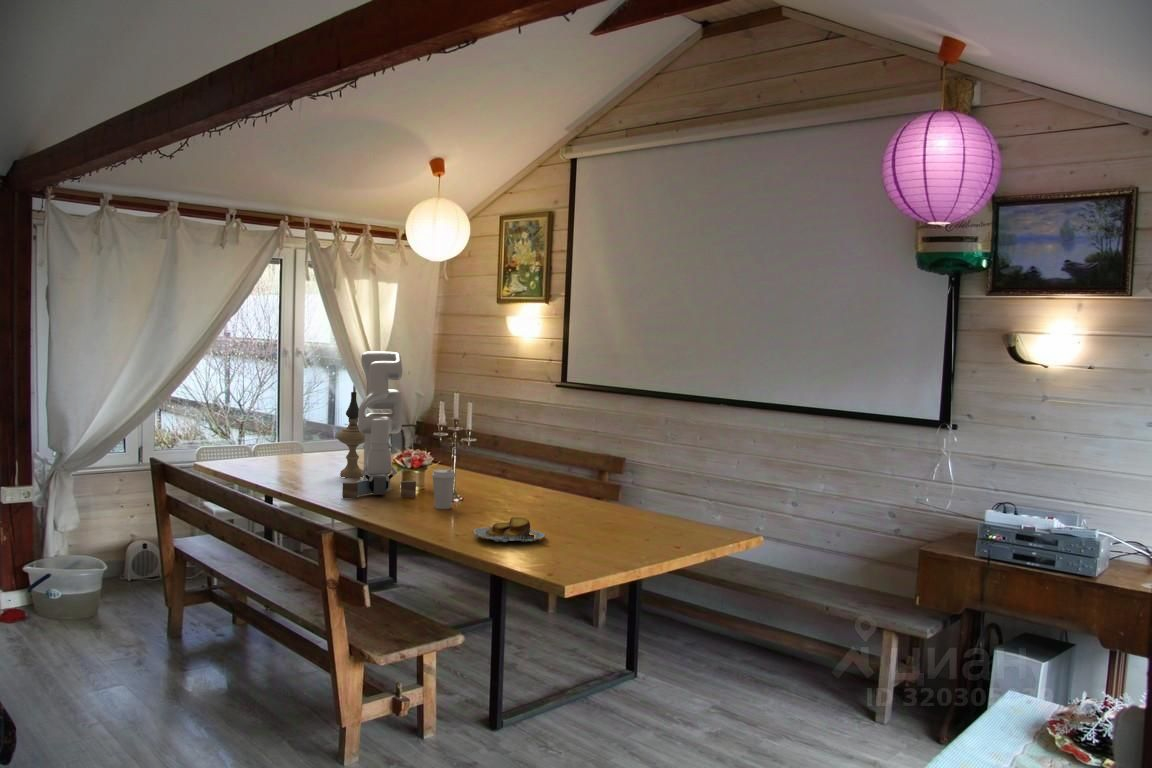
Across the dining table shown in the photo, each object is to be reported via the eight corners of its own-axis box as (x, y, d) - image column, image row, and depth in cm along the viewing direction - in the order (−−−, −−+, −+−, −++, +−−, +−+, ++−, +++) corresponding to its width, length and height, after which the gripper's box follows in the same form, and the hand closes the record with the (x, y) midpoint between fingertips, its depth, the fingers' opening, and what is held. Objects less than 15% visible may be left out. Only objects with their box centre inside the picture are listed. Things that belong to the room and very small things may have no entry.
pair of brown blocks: (342, 497, 360) (342, 482, 359) (414, 496, 369) (415, 481, 369) (342, 498, 358) (342, 483, 357) (415, 497, 367) (416, 481, 367)
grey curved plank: (354, 495, 363) (354, 481, 363) (386, 489, 378) (386, 476, 378) (357, 496, 362) (357, 481, 362) (389, 490, 377) (390, 476, 376)
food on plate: (459, 536, 305) (460, 517, 305) (517, 528, 320) (518, 510, 320) (498, 552, 285) (499, 532, 285) (559, 543, 300) (559, 524, 300)
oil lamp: (337, 473, 414) (338, 390, 412) (369, 473, 417) (371, 391, 414) (334, 479, 400) (335, 393, 397) (367, 479, 402) (369, 393, 400)
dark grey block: (371, 492, 368) (372, 475, 368) (383, 491, 370) (384, 475, 370) (373, 494, 361) (374, 477, 361) (385, 494, 363) (386, 477, 363)
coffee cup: (443, 511, 342) (444, 473, 341) (425, 507, 348) (426, 470, 346) (459, 507, 350) (460, 470, 349) (442, 503, 355) (443, 467, 354)
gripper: (399, 446, 372) (398, 488, 372) (358, 446, 366) (357, 489, 367) (401, 448, 364) (400, 491, 365) (359, 448, 359) (358, 492, 360)
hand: (378, 489), depth 366 cm, fingers closed on dark grey block, 5 cm apart
